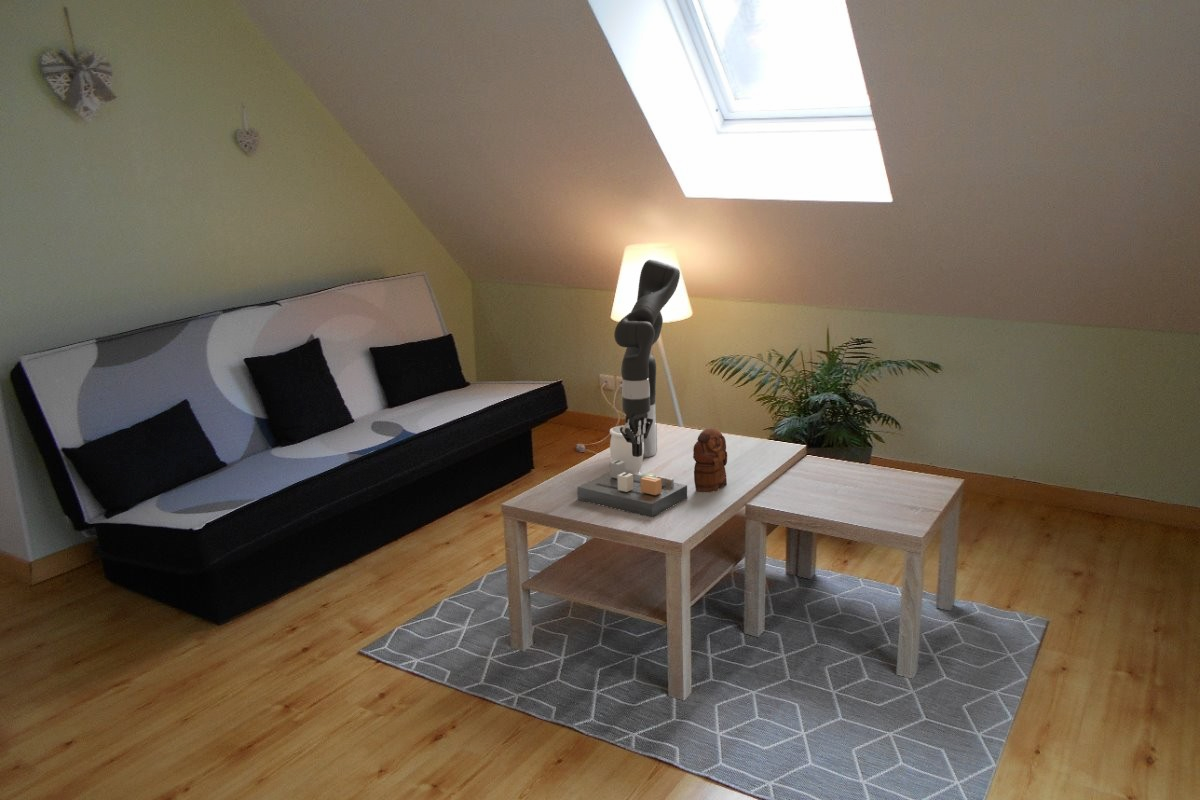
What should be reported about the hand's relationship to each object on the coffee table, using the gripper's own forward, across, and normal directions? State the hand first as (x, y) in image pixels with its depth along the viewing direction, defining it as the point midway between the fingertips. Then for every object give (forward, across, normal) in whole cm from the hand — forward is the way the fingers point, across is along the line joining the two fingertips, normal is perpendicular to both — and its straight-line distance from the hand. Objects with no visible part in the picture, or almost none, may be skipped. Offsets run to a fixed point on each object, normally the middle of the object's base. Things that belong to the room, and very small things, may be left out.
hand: (637, 455), depth 275 cm
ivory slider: (+13, +4, +8) cm, 16 cm away
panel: (+17, +8, +8) cm, 20 cm away
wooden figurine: (+17, +30, -6) cm, 35 cm away
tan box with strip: (+13, +6, 0) cm, 14 cm away
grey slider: (+13, +12, +16) cm, 24 cm away
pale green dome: (+13, +14, +6) cm, 19 cm away
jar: (+17, +24, +21) cm, 36 cm away
